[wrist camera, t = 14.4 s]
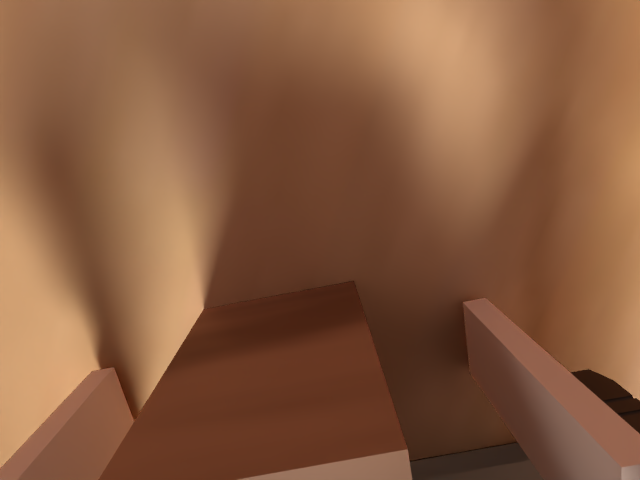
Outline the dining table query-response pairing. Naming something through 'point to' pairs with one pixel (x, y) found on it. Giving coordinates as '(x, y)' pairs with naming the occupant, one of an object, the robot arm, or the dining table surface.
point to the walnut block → (270, 398)
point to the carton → (478, 465)
